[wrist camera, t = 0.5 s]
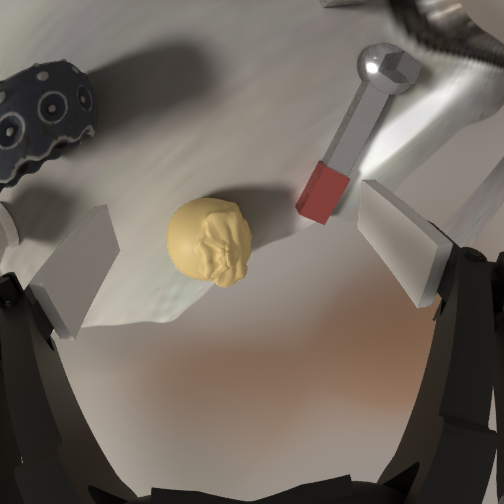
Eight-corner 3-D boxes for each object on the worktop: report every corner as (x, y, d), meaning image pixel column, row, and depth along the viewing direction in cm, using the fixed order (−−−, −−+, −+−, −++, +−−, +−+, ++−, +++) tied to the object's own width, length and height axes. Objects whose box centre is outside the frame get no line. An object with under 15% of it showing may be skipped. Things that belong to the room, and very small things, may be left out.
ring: (15, 122, 31) (-70, 155, 13) (105, 58, 29) (19, 46, 12) (34, 175, 36) (-44, 228, 19) (127, 121, 34) (49, 149, 17)
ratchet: (368, 35, 29) (396, 27, 23) (408, 64, 31) (439, 64, 25) (284, 202, 43) (295, 225, 36) (328, 220, 45) (345, 245, 38)
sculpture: (252, 252, 47) (258, 294, 38) (180, 259, 47) (170, 302, 37) (246, 185, 41) (251, 214, 32) (166, 195, 41) (148, 226, 32)
